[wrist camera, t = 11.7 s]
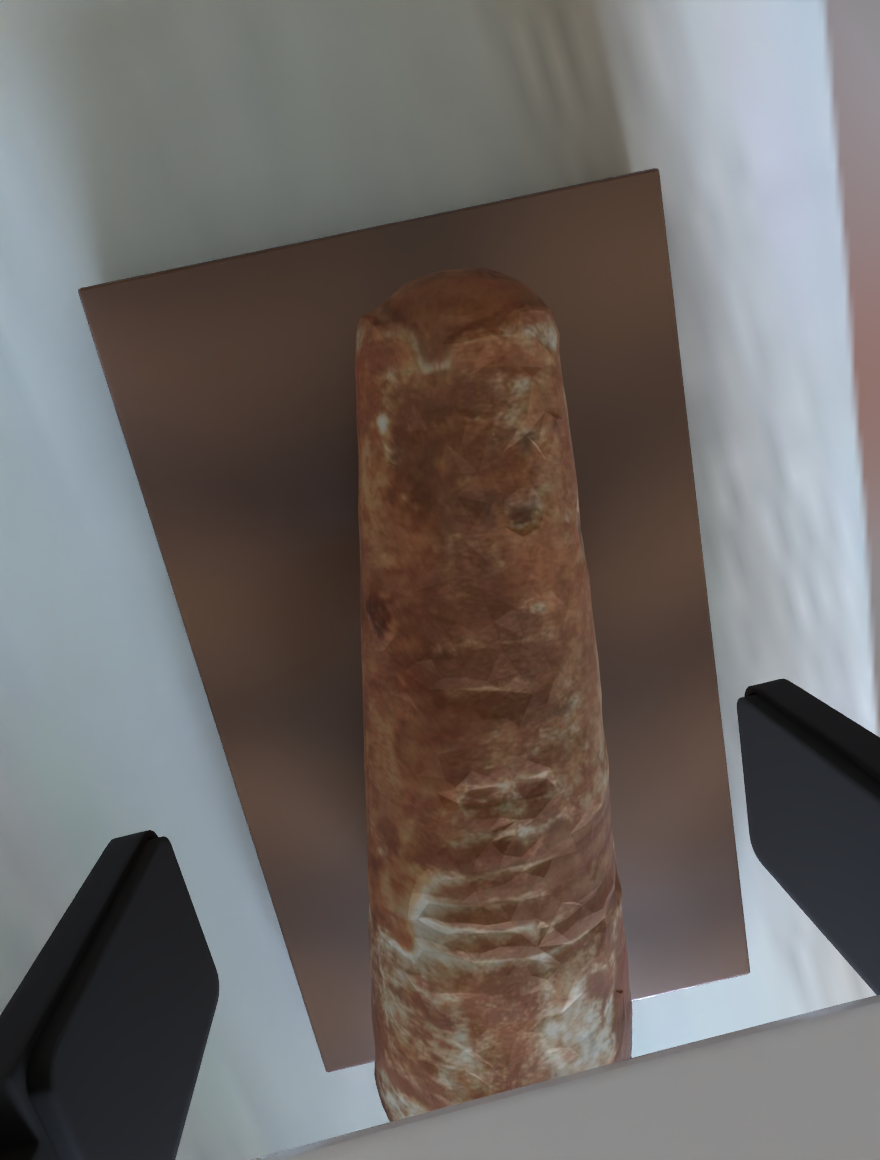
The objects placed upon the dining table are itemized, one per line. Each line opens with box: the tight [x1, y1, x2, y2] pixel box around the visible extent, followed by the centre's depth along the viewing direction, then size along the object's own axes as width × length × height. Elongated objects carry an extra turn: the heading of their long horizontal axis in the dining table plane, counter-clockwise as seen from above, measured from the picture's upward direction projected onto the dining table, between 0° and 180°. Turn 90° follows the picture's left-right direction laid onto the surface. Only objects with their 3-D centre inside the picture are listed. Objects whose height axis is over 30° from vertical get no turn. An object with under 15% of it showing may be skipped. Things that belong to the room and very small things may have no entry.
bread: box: [355, 267, 632, 1122], centre depth 14 cm, size 6×19×6 cm, turn 2°
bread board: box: [78, 168, 750, 1072], centre depth 18 cm, size 22×13×2 cm, turn 12°
